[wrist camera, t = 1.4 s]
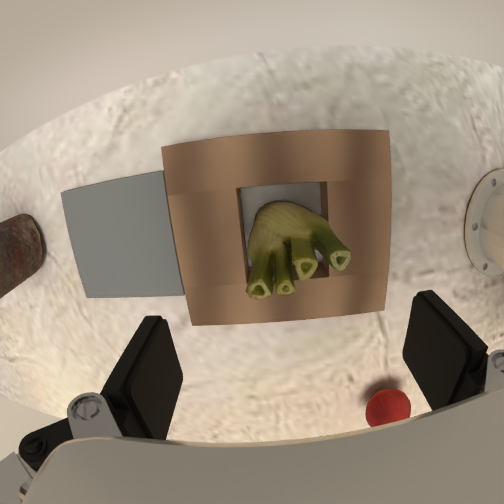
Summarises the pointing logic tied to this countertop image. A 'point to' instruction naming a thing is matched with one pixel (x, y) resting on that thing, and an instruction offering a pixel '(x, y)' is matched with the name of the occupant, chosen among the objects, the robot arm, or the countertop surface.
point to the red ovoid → (387, 407)
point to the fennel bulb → (289, 248)
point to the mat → (124, 238)
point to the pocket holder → (270, 173)
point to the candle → (18, 251)
